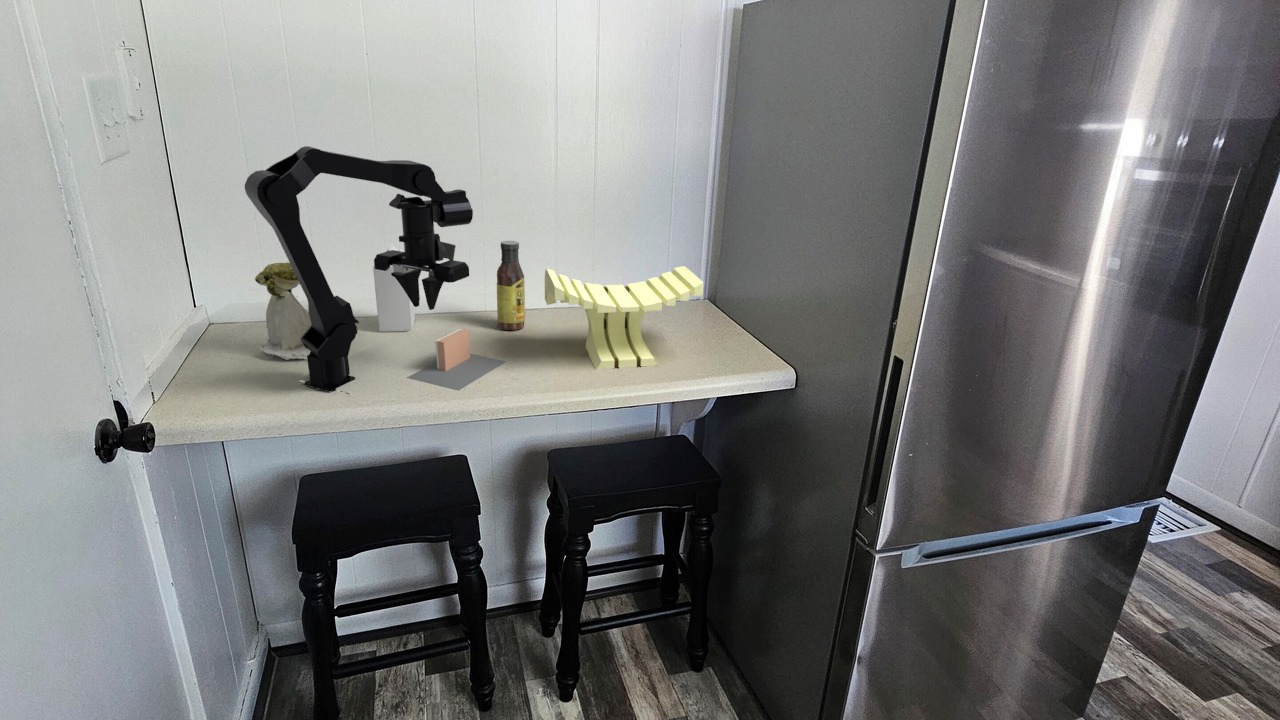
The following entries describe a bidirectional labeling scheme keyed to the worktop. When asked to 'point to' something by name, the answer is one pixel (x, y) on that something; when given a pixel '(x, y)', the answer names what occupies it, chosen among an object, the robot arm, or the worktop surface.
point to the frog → (284, 313)
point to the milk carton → (392, 301)
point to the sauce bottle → (510, 289)
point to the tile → (452, 349)
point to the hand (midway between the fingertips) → (424, 307)
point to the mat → (458, 372)
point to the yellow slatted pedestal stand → (621, 312)
